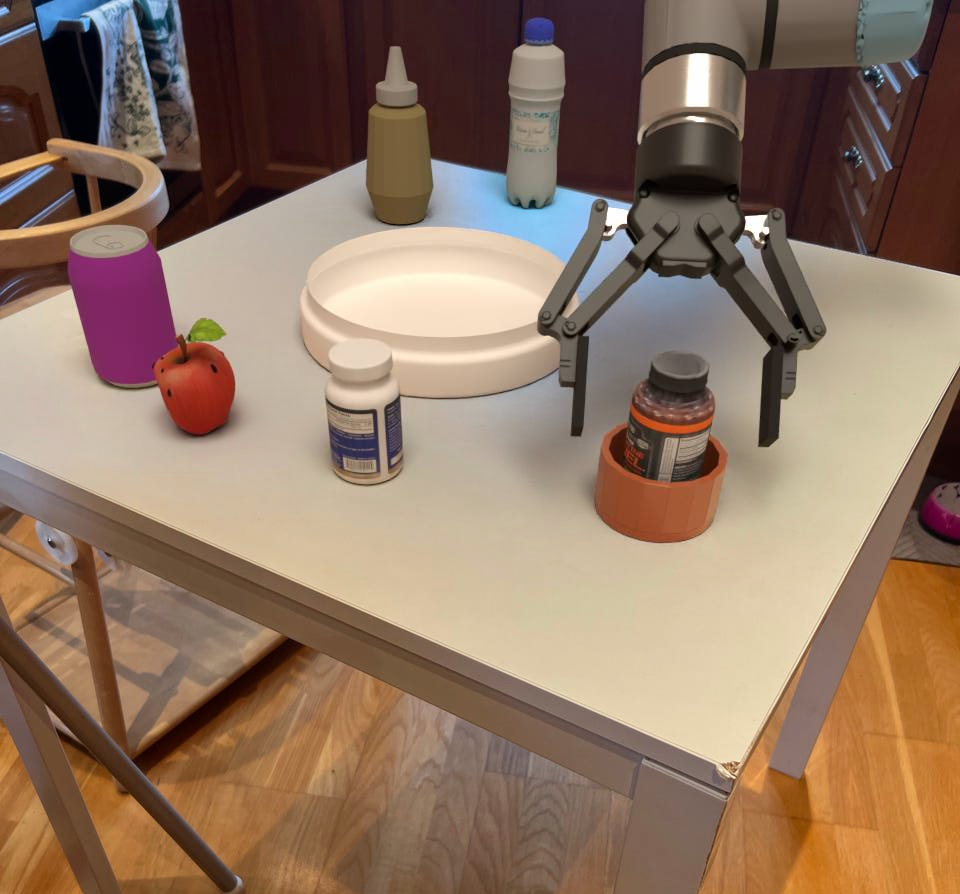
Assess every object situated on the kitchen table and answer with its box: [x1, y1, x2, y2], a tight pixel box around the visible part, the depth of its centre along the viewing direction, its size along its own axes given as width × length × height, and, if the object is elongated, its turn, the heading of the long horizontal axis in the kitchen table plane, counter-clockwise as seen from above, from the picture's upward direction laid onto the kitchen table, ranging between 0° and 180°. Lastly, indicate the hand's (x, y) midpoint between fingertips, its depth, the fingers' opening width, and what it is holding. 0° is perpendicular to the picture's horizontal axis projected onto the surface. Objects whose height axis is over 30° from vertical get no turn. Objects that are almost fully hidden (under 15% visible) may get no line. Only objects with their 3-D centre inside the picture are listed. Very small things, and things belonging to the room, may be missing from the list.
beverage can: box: [67, 224, 179, 389], centre depth 84 cm, size 8×8×12 cm
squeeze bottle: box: [365, 45, 435, 225], centre depth 112 cm, size 8×8×18 cm
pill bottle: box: [324, 338, 404, 485], centre depth 75 cm, size 6×6×10 cm
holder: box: [594, 421, 728, 544], centre depth 73 cm, size 9×9×5 cm
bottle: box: [505, 17, 566, 209], centre depth 116 cm, size 7×7×20 cm
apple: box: [152, 317, 236, 436], centre depth 78 cm, size 8×7×10 cm
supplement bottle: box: [622, 349, 716, 482], centre depth 71 cm, size 6×6×11 cm
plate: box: [299, 226, 581, 399], centre depth 94 cm, size 27×27×6 cm
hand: (672, 438), depth 69 cm, fingers open, 13 cm apart
